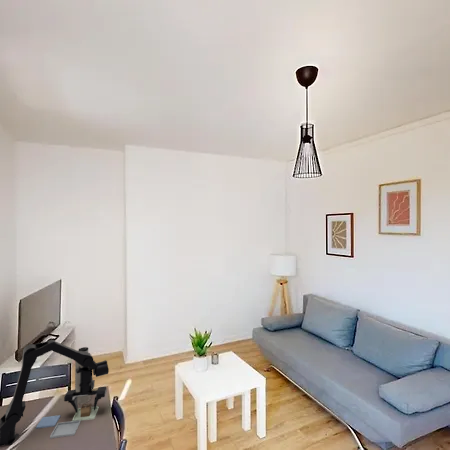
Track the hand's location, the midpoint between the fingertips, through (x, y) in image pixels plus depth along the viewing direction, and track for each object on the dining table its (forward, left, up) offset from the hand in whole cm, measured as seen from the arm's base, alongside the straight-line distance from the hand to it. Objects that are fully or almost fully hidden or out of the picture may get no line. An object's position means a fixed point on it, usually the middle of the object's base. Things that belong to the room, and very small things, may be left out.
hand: (85, 411), depth 150 cm
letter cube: (0, 0, -2) cm, 2 cm away
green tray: (0, 0, -2) cm, 2 cm away
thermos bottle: (+15, +5, -2) cm, 16 cm away
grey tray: (-11, +6, -2) cm, 13 cm away
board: (-3, +16, -2) cm, 16 cm away
